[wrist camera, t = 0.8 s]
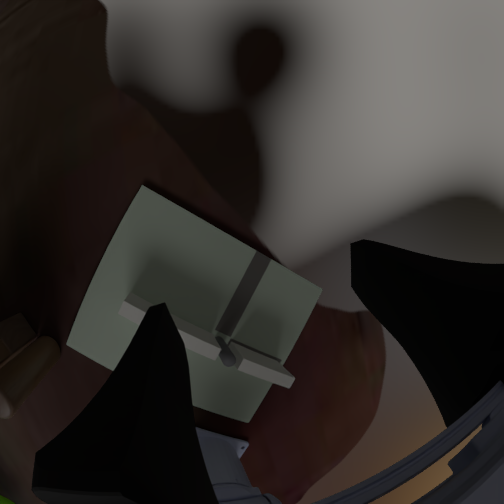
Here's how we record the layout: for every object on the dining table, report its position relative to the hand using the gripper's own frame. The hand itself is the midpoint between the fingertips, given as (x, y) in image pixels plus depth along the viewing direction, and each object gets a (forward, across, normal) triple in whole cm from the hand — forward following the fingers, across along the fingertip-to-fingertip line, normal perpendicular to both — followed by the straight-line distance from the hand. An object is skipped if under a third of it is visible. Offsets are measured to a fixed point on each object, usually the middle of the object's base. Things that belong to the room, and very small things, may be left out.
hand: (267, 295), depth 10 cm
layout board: (+15, +5, +12) cm, 20 cm away
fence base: (+13, +1, +16) cm, 21 cm away
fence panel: (+14, +7, +10) cm, 19 cm away
